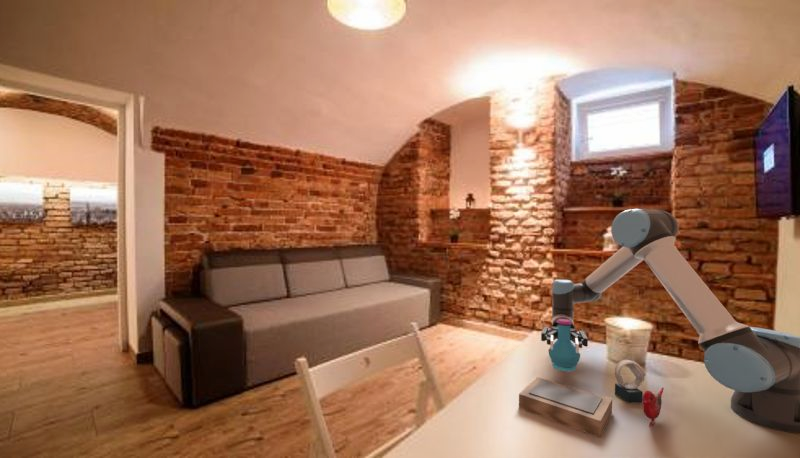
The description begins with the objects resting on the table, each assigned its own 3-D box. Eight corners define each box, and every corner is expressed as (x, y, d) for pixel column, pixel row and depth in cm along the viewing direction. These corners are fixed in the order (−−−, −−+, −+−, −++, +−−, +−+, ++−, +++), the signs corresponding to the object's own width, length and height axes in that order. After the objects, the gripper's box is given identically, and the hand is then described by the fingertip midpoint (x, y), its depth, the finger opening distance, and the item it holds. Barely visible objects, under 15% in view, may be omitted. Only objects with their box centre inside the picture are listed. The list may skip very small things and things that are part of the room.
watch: (648, 402, 101) (649, 364, 101) (622, 403, 100) (623, 365, 100) (633, 392, 107) (634, 356, 107) (609, 393, 106) (609, 357, 106)
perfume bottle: (542, 363, 116) (542, 317, 115) (564, 360, 118) (565, 315, 118) (562, 374, 107) (563, 325, 107) (587, 371, 110) (587, 322, 109)
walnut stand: (611, 413, 95) (612, 397, 95) (600, 437, 85) (600, 419, 84) (537, 390, 108) (537, 376, 108) (518, 408, 98) (519, 392, 98)
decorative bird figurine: (637, 432, 87) (638, 392, 87) (656, 407, 99) (657, 371, 98) (651, 437, 85) (652, 396, 84) (669, 411, 96) (670, 375, 96)
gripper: (593, 340, 125) (600, 364, 104) (534, 333, 133) (530, 354, 112) (593, 319, 125) (600, 338, 104) (534, 314, 133) (530, 330, 112)
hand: (564, 347), depth 108 cm, fingers closed on perfume bottle, 6 cm apart
